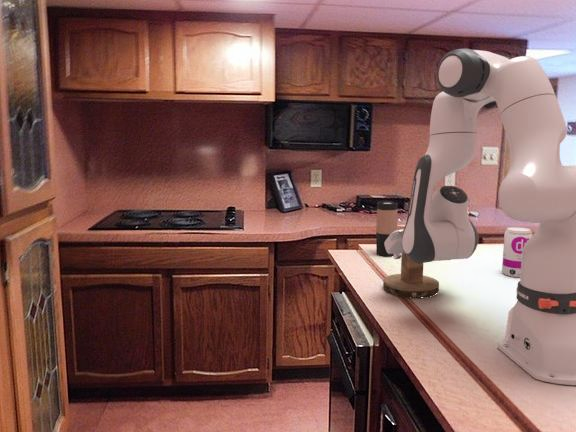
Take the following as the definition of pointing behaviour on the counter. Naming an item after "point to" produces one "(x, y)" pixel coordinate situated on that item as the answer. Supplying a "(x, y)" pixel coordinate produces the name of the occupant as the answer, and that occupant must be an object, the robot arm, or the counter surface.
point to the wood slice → (410, 287)
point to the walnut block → (411, 270)
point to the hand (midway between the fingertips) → (411, 256)
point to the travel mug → (385, 225)
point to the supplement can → (514, 250)
